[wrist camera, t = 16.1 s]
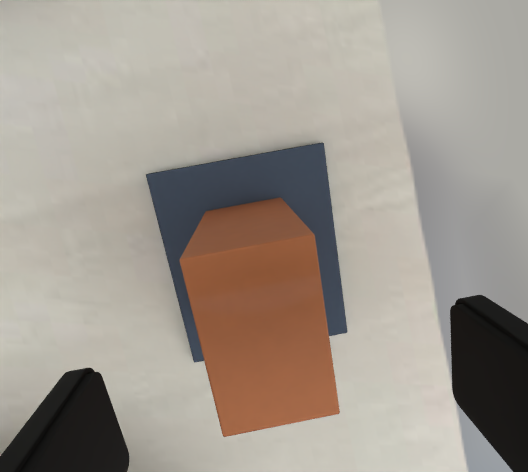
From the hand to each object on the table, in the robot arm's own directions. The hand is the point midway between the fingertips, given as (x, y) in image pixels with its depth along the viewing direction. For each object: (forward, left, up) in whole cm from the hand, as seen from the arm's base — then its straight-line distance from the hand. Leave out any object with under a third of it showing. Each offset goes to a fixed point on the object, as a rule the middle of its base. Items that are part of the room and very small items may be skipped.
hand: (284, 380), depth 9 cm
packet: (0, +1, -12) cm, 12 cm away
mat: (0, 0, -12) cm, 12 cm away
